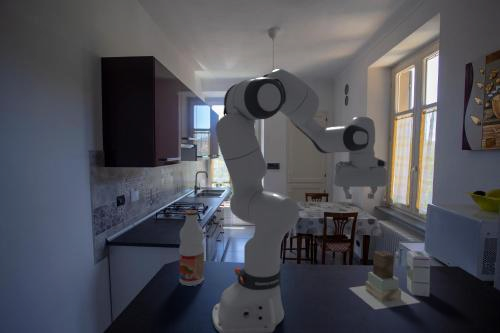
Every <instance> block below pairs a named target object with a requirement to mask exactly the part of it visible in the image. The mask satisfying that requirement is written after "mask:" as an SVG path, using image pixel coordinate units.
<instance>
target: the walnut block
mask: <svg viewBox="0 0 500 333" xmlns="http://www.w3.org/2000/svg"><path fill="white" fill-rule="evenodd" d="M394 258H395V255H394V254H393V253H390V252H388V251H386V250H377V251H373V258H372V259H373V261H372V263H373V264H372V266H373V267H372V268H373V269H372V272H373V274H375V275H377V276H378V277H380V278H381V279H386V278H393V276H394Z"/></svg>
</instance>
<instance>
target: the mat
mask: <svg viewBox="0 0 500 333" xmlns="http://www.w3.org/2000/svg"><path fill="white" fill-rule="evenodd" d="M348 289H349V290H350V291H352V292H353V293H354V294H355V296H358V298H360V299H361V300H362V301H364V302H365V303H366V305H369V307H371V308H372V309H373V310H380V309H387V308H394V307H401V306H405V305H412V304H413V305H414V304H418V303H419V304H420V303H421V301H419V300H417V299H416V298H414V297H413V296H411V295H410V294H408V293H406V292H405V291H403V289H401V299H400V300H393V301H387V302H380V301H379V300H378V299H376V298H375V297H374V296H372V295H371V294H370V293H368V292H367V291H366V285H361V286H354V287H349V288H348Z"/></svg>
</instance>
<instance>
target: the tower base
mask: <svg viewBox="0 0 500 333" xmlns="http://www.w3.org/2000/svg"><path fill="white" fill-rule="evenodd" d="M365 286H366V291H367V292H368V293H370V294H371V295H372V296H374V297H375V298H376V299H378V300H379V301H380V302H387V301H393V300H400V299H401V290H402V288H400V287H399V289H395V290H388V291H381V290H379V289H378V288H376V287H375V286H373V285H372V284H371V283H369V282H368V280H366V281H365Z"/></svg>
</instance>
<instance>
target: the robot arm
mask: <svg viewBox="0 0 500 333" xmlns="http://www.w3.org/2000/svg"><path fill="white" fill-rule="evenodd" d="M319 107H320V98H319V96H318V94H317V92H316V90H314V88H312V87H311V86H309V85H308V84H307V83H306V82H304V81H303V80H302V79H301V78H299V77H297V76H296V75H294V74H293V73H291V72H290V71H287V70H285V69H284V68H278V69H274V70H272V71H270V72H269V73H268V74H267V75H266V77H257V78H254V79H246V80H243V81H240V82H239V83H236V84H234V85H232V86H231V87H229V88H228V89H227V91H226V92H225V95H224V98H223V116H222V117H221V118H220V119H219V120H217V122H216V124H215V135H216V138H217V144H218V147H219V151H220V153H221V156H222V158H223V161H224V164H225V167H226V170H227V172H228V175H229V177H230V179H231V180H230V181H231V183H232V184H231V185H232V190H233V192H232V193H233V194H232V195H231V198H230V202H229V207H230V211H231V213H232V214H233V215H234V216H235V217H237V219H240V220H241V221H243V222H245V223H249V224H251V225H254V233H253V237H251V238H250V239H248V240H247V241H246V242H245V244H244V247H243V248H244V250H243V251H244V254H243V256H244V257H243V258H244V260H243V261H244V264H243V268H242V269H241V268H240V267H239V266H236V267H235V268H234V270H233V271H234V274H235V275H236V276H237V280H236V281H235V282H234V283H233V284H232V285H230V286H229V287H227V288H226V289H224V291H223V292H222V294H221V297H220V299H219V300H220V301H219V303H216V304H215V305H214V306H213V309H212V312H211V313H212V316H211V318H212V324H213V325H214V328H215V329H216V330H217V332H219V333H273V332H274V331H275V330H276V327H277V326H278V325H279V324H280V323H281V322H282V321H283V320H284V317H285V310H284V307H283V304H282V297H281V285H282V272H281V268H280V259H281V257H280V256H281V247H282V246H281V245H282V242H283V240H284V238H285V236H286V234H287V233H288V232H289V231H291V230H293V228H295V226H296V225H297V224H298V221H299V218H300V208H299V205H298V203H297V201H296V200H295V199H294V198H292V197H290V196H288V195H286V194H283V193H279V192H275V191H274V192H273V191H270V190H269V191H268V190H266V189H265V188H264V186H263V179H264V178H265V176H266V175H267V171H268V167H267V166H268V165H267V164H266V161H265V157H264V154H263V152H262V149H261V147H260V143H259V140H258V138H257V136H256V128H255V125H256V121H258V120H267V119H270V118H272V117H273V116H275V115H276V114H278V112H281V113H282V114H283V115H285V116H286V117H288V119H289V120H290V122H291V124H292V125H293V126H295V127H296V129H298V130H299V131H300V132H301V133H302V134H303V135H305V136H306V138H308V139H309V140H310V141H311V143H312V144H313V145H314V147H315V149H316V150H317V151H318V152H320V153H321V154H331V153H332V154H333V153H348V161H339V162H336V164H335V168H334V170H335V173H334V177H333V183H334V185H335V187H338V188H341V187H342V189H343V193H344V194H345V199H346V200H352V199H353V194H351V192H350V191H349V190H350V188H353V187H354V188H362V187H363V188H366V187H367V188H368V187H370V192H369V193H367V199H370V200H373V199H375V194H376V193H377V191H378V187H379V188H383V187H386V185H387V183H388V172H387V168H386V167H387V161H385V160H383V159H381V158H378V157H376V156H375V153H376V152H375V149H374V148H375V143H376V128H375V127H376V126H375V122H374V120H373V119H372V118H370V117H368V116H367V117H366V116H357V117H356V116H355V117H353V118H352V119H351V121H349V122H348V123H346V124H343V125H337V126H335V125H334V126H322V125H321V124H319V123H318V122H317V121H316V119H314V118H315V116H316V114H317V113H318V111H319Z"/></svg>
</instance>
